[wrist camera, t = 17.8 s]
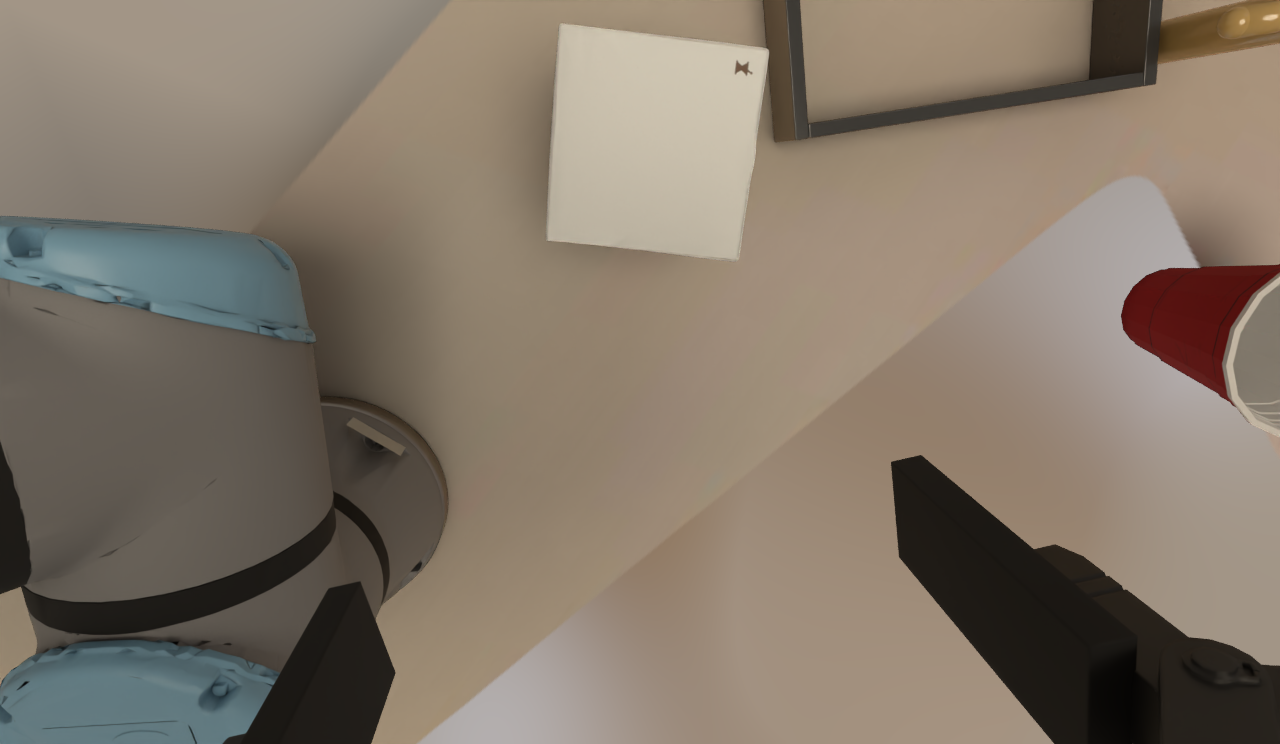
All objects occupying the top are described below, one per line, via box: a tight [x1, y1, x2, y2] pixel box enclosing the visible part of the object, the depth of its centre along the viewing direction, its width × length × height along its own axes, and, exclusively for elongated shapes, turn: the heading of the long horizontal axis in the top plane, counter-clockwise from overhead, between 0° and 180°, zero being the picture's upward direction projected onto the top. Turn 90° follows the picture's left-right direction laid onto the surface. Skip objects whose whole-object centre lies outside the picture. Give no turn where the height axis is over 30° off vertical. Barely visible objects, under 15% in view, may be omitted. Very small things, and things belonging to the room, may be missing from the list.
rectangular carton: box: [546, 23, 769, 262], centre depth 35 cm, size 9×9×15 cm
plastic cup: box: [1121, 264, 1280, 437], centre depth 43 cm, size 11×11×12 cm
